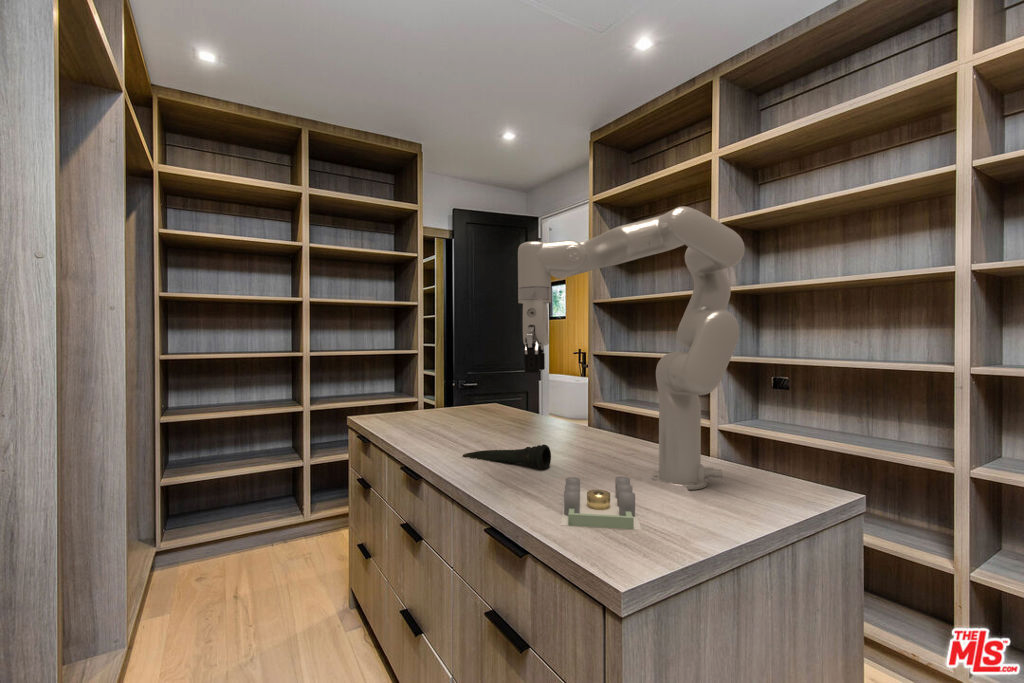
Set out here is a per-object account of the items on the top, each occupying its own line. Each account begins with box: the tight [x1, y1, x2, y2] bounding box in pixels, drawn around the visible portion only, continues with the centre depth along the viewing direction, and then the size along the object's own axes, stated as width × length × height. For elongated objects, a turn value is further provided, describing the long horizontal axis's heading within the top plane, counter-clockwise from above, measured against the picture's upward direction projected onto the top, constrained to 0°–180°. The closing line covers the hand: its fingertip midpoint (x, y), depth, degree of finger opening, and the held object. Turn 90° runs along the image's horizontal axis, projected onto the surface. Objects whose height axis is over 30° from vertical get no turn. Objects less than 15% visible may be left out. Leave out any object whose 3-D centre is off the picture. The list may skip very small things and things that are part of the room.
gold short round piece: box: [587, 489, 610, 510], centre depth 96 cm, size 5×5×3 cm
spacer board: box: [560, 476, 642, 531], centre depth 95 cm, size 14×20×5 cm
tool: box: [462, 444, 552, 471], centre depth 135 cm, size 28×6×7 cm, turn 55°
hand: (535, 371), depth 110 cm, fingers open, 9 cm apart
